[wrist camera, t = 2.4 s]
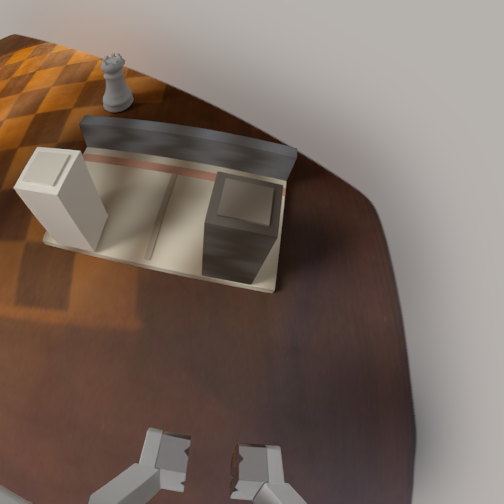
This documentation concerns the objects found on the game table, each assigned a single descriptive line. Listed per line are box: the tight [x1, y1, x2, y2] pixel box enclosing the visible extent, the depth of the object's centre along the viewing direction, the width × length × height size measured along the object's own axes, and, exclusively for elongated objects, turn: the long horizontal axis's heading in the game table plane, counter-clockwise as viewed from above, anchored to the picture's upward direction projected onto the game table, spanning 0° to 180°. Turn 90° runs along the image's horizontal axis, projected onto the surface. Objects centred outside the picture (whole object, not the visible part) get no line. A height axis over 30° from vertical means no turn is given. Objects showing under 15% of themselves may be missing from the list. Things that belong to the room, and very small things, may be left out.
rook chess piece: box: [100, 54, 134, 113], centre depth 32 cm, size 4×4×8 cm
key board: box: [42, 116, 297, 293], centre depth 28 cm, size 24×14×5 cm, turn 82°
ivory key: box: [14, 147, 108, 252], centre depth 22 cm, size 4×4×10 cm
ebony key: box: [202, 171, 283, 285], centre depth 23 cm, size 4×4×10 cm
